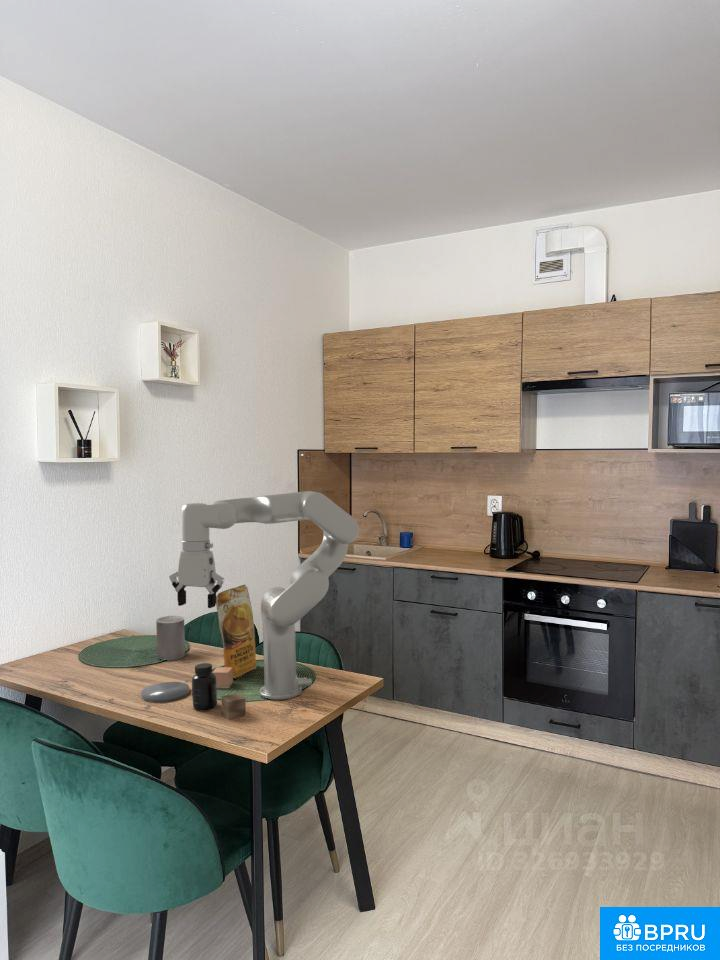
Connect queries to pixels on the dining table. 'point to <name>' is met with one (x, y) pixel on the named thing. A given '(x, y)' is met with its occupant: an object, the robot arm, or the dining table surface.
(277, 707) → the dining table surface
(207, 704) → the supplement bottle
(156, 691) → the charcoal plate
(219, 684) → the terracotta block
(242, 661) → the pancake mix bag
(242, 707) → the walnut block
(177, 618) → the pillar candle
